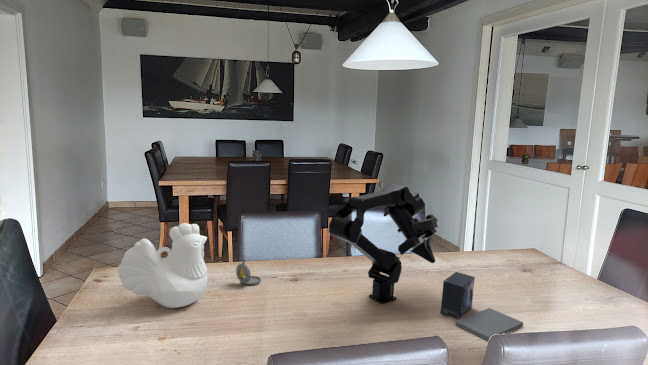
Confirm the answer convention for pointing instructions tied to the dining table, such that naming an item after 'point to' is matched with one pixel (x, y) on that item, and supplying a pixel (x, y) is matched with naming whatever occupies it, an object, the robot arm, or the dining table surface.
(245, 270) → the pocket watch
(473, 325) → the mat
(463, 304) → the small box
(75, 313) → the dining table surface
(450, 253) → the dining table surface
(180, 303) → the decorative rooster
